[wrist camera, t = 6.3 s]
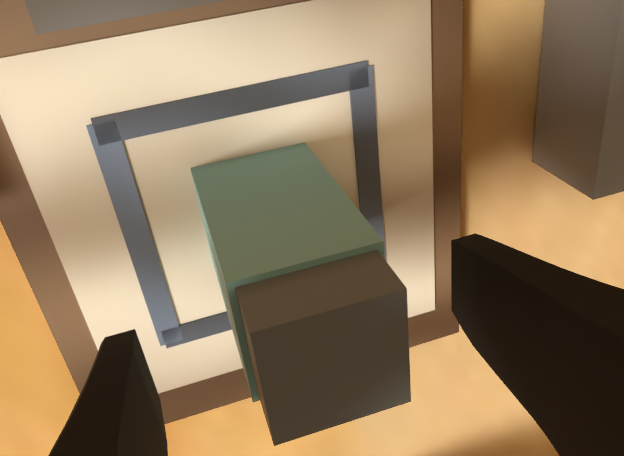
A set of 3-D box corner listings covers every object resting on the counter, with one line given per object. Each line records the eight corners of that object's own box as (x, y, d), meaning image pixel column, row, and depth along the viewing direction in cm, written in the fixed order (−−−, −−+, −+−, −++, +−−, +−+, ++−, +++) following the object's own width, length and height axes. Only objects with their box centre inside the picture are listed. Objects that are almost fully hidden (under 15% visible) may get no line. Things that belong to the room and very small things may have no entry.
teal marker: (316, 239, 18) (417, 404, 12) (213, 266, 17) (268, 453, 12) (304, 141, 16) (414, 279, 11) (190, 167, 16) (239, 328, 10)
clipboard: (451, 322, 22) (472, 349, 21) (103, 429, 20) (102, 468, 19) (452, -140, 15) (486, -143, 13) (-116, -57, 12) (-144, -51, 11)
